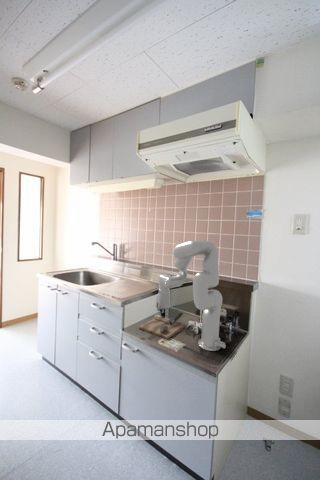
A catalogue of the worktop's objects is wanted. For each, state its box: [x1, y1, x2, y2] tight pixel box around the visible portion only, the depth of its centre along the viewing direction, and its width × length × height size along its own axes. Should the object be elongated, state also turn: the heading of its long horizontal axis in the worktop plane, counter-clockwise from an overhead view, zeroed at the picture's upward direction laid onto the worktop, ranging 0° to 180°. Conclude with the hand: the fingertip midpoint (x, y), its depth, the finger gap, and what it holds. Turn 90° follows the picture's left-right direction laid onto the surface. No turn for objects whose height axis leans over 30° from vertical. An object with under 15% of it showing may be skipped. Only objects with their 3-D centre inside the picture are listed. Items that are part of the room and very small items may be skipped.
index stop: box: [160, 325, 168, 333], centre depth 137 cm, size 2×5×4 cm, turn 145°
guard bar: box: [153, 313, 175, 324], centre depth 152 cm, size 15×3×3 cm, turn 55°
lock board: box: [138, 318, 185, 340], centre depth 144 cm, size 22×20×2 cm
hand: (162, 317), depth 156 cm, fingers closed
